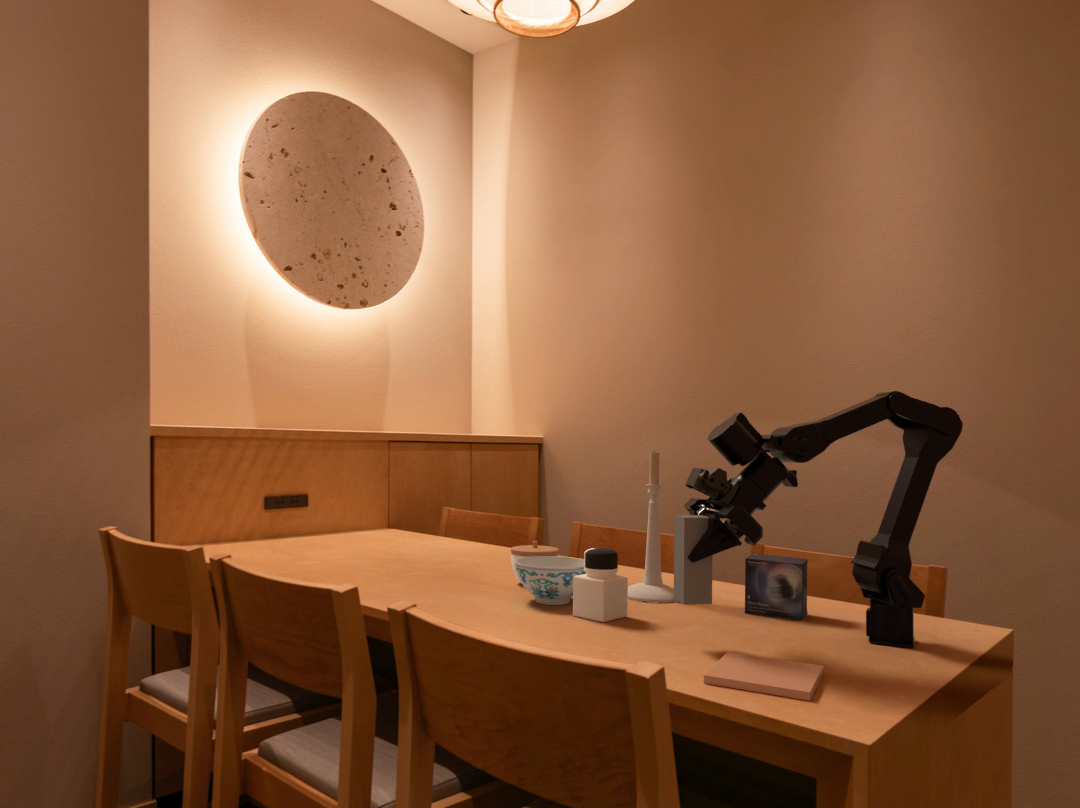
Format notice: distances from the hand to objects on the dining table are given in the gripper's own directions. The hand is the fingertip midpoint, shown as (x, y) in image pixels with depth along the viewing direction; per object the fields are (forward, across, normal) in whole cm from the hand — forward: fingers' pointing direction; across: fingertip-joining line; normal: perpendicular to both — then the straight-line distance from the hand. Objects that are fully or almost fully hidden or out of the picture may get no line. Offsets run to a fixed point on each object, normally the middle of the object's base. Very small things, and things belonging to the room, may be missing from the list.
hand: (684, 558), depth 115 cm
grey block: (+4, 0, +6) cm, 7 cm away
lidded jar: (+20, -53, -1) cm, 57 cm away
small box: (-8, -21, +28) cm, 36 cm away
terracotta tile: (+6, +17, +13) cm, 22 cm away
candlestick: (+5, -38, +15) cm, 41 cm away
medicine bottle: (+15, -21, +4) cm, 26 cm away
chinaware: (+20, -34, -1) cm, 39 cm away
